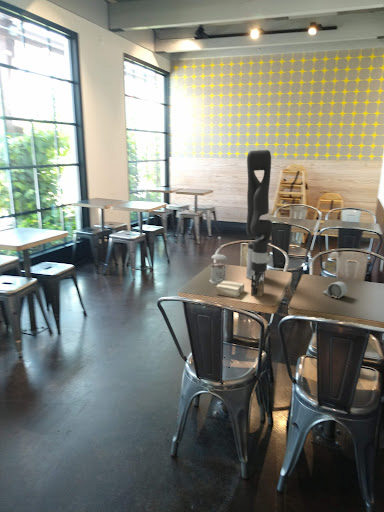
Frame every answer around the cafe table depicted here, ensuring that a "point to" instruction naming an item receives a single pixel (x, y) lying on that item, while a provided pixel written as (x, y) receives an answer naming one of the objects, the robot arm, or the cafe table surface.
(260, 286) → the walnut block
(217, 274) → the french press
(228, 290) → the birch base
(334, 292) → the ceramic mug
